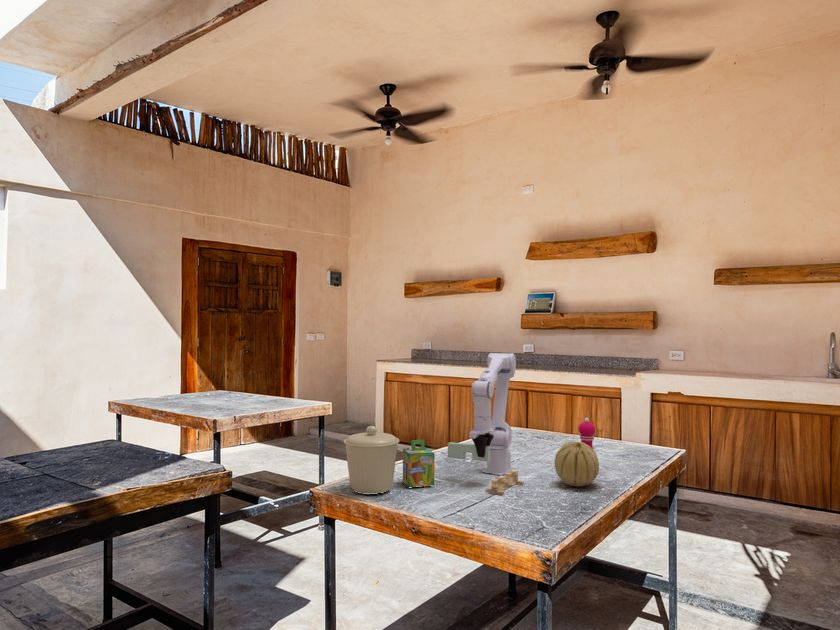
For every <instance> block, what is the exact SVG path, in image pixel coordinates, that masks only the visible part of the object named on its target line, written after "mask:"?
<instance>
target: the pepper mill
mask: <svg viewBox="0 0 840 630" xmlns="http://www.w3.org/2000/svg"><path fill="white" fill-rule="evenodd" d="M577 428H578V432H579V434H580V435H579V439H580V442H582V443H585V444H587V445H589V446H590V447H591V448H592V449H593V450H594V447H593V443H594V440H595V438H594V437H595V436H594V434H595V433H596V426H595V425H594V423H592V422H590V418H589V417H585V418H584V421H583V422H581V423H579V425H578V427H577Z"/></svg>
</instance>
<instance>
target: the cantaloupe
mask: <svg viewBox="0 0 840 630" xmlns="http://www.w3.org/2000/svg"><path fill="white" fill-rule="evenodd" d="M554 468H555V472H556V474H557V476H558V478H559V479H560V480H561V481H562V482H564V484H566V485H568V486H570V487H577V488H579V487H580V488H581V487H585V486H587V485H590V484H591V483H592V482H593V481H594V480H596V478H597V476H598V474H599V470H600V463H599V458H598V455H597V453H596V451H595V450H594V448H593V449H592V448H591V447H590V446H589V445H587V444H585V443H582V442H581V441H570V442H567V443H564V444H563V445H562V446H560V448H559V449H558V450H557V452H556V453H555V458H554Z"/></svg>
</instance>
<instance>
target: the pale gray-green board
mask: <svg viewBox="0 0 840 630" xmlns="http://www.w3.org/2000/svg"><path fill="white" fill-rule="evenodd" d="M466 453H471V460H472V461H477V462H478V461H479V462H486V463H487V462H489V461H490V446H486V447H485V456H484V457H483V458H482V457H478V455H477V451H476V447H475V444H474V443H473V444H472V443H463V442H461V443H459V442H447V457H448V458H452V459H457V460H459V459H460V460H465V459H467V456H466Z"/></svg>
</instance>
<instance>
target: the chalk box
mask: <svg viewBox="0 0 840 630" xmlns="http://www.w3.org/2000/svg"><path fill="white" fill-rule="evenodd" d="M416 444H419V445H420V447H416ZM410 445H411V446H410V447H411V448H410V447H409V448H402V482H403V481H404V482H405V484H406V485H407V486H408V487H416V486H430V485H434V486H435V460H436V459H435V456H436V455H435V452H433V451H432V449H429V448H428V447H425V440H424V439H416V440H415V439H414V440H411V443H410ZM405 484H404V485H405ZM406 485H405V486H406ZM407 486H406V487H407ZM408 487H407V488H408Z"/></svg>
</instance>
